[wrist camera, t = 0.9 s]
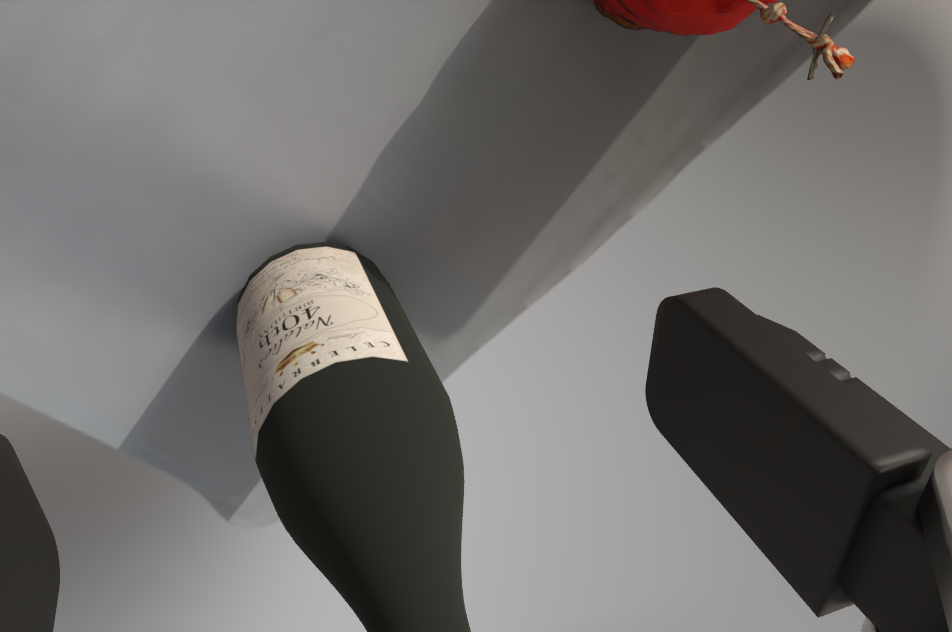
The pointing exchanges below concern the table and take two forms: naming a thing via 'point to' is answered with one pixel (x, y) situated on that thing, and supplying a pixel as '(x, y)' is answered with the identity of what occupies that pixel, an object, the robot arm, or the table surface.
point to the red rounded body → (719, 22)
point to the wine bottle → (355, 436)
